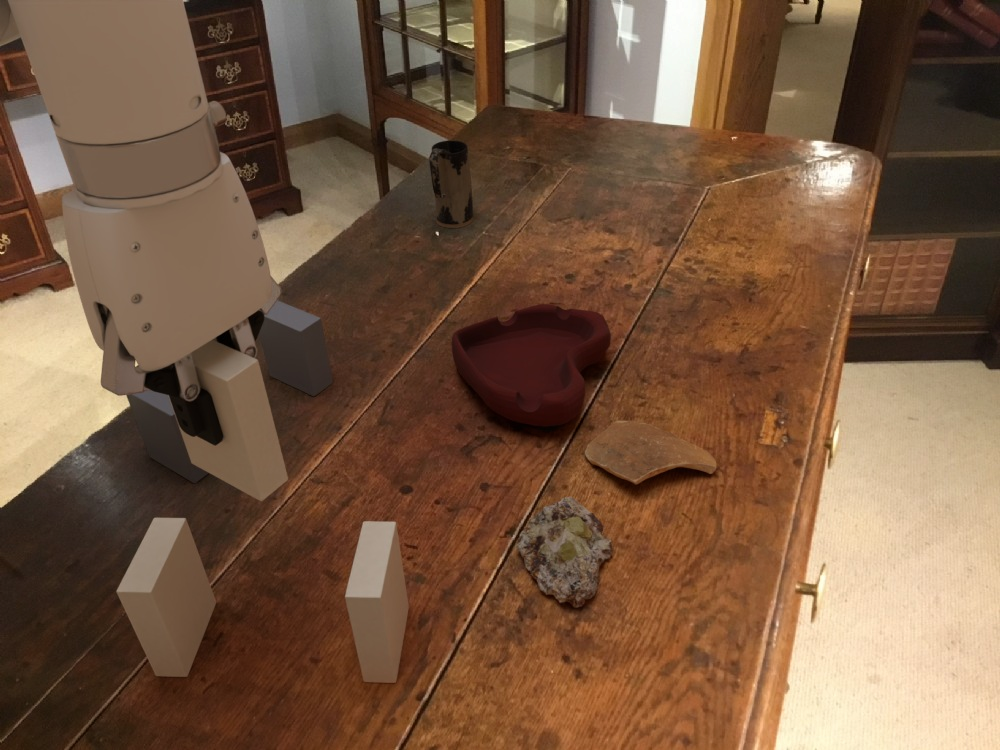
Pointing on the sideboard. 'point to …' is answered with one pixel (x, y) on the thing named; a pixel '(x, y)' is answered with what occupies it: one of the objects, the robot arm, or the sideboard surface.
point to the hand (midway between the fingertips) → (223, 420)
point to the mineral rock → (565, 551)
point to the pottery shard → (644, 452)
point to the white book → (237, 423)
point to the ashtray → (532, 362)
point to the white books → (190, 601)
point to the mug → (451, 183)
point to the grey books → (289, 358)
